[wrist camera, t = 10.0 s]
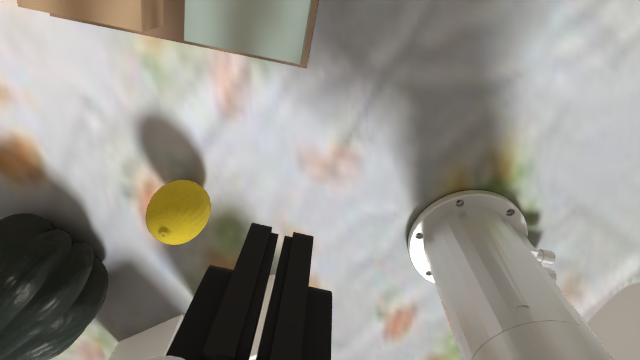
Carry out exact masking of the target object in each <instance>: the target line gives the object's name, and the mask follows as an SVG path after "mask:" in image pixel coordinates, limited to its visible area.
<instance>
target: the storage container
mask: <svg viewBox="0 0 640 360" xmlns="http://www.w3.org/2000/svg"><path fill="white" fill-rule="evenodd" d="M274 279H275V275H274V274H273V275H270V276H269V279H268V283H267V287H266V292H265V296H264V301H263V305H262V309H261V314H260V318H259V322H258V326H257V330H256V334H255V338H254V342H253V346H252V350H251V354H250V358H249V360H256V357H257V352H258V348H259V344H260V339H261V335H262V331H263V326H264V322H265V318H266V313H267V309H268V305H269V301H270V296H271V292H272V288H273V284H274ZM183 318H184V316H183V315H182V314H181V315H179V316H177V317H174V318H172V319H170V320H168V321H165V322H163V323H161V324H158V325H156V326H154V327H152V328H149V329H147V330H145V331H142V332H140V333H138V334H136V335H133V336H131V337H129V338H126V339H124V340H122V341H120V342H118V344H117V346H116V347H115V349H114V351H113V352H112V354H111V356H110V358H109V359H108V360H148V359H151V358H154V357H158V356H166V353H167V351H168V349H169V347H170V345H171V343H172V341H173V339H174V337H175V335H176V333H177V331H178V329H179V327H180V325H181V322H182V320H183Z"/></svg>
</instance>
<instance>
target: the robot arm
mask: <svg viewBox="0 0 640 360" xmlns="http://www.w3.org/2000/svg"><path fill="white" fill-rule="evenodd" d="M271 231H272V227H269V226H264V225H260V224H255V223H252V224H251V227H250V229H249V232H248V234H247V237H246V240H245V242H244V245H243V247H242V250H241V253H240V255H239V258H238V260H237V263H236V266H235V268H234V270H230V269H226V268H221V267H216V266H212V265H210V266H209V267H208V269H207V271H206V273H205V275H204V277H203V279H202V281H201V283H200V285H199V287H198V289H197V292H196V294H195V296H194V298H193V300H192V302H191V304H190V306H189V308H188V310H187V312H186V314H185V316H184V318H183V320H182V322H181V325H180V327H179V329H178V331H177V333H176V335H175V337H174V339H173V341H172V343H171V345H170V347H169V349H168V351H167V353H166V356H158V357H154V358H151V359H148V360H249V358H250V354H251V350H252V346H253V342H254V338H255V334H256V330H257V326H258V322H259V318H260V314H261V309H262V305H263V301H264V296H265V292H266V287H267V283H268V279H269V274H270V270H271V265H272V261H273V257H274V252H275V248H276V244H277V239H278V235H279V234H275V233H271ZM527 235H528V231H527V224H526V221H525V219H524V216H523V215H522V213H521V212H520V211H519V209H518V208H517V207H516V206H515V205H514V204H513V203H512V202H511V201H510V200H508V199H507V198H505V197H504V196H502V195H499V194H497V193H494V192H489V191H484V190H468V191H461V192H457V193H453V194H450V195H447V196H445V197H443V198H441V199H439V200H437V201H435V202H434V203H433V204H431V205H430V206H428V207H427V208H426V209H425V210H424V211H423V212H422V213H421V214H420V215H419V216H418V218H417V219H416V220H415V222H414V223H413V226H412V228H411V230H410V233H409V238H408V251H409V255H410V258H411V261H412V263H413V265H414V267H415V268H416V269H417V271H418V272H419V273H420V274H421V275H422V276H423V277H425V278H426V279H428V280H430V281H432V282H433V283H435V286H436V288H437V291H438V294H439V297H440V300H441V302H442V305H443V308H444V311H445V313H446V316H447V319H448V322H449V324H450V327H451V330H452V333H453V335H454V338H455V341H456V344H457V347H458V349H459V352H460V355H461V358H462V360H614V359H613V358H612V356H611V355H610V354H609V353H608V351H607V350H606V349H605V347H604V346H603V345H602V343H601V342H600V341H599V340H598V338H597V337H596V336H595V334H594V333H593V332H592V330H591V329H590V328H589V326H588V325H587V324H586V323H585V321H584V320H583V319H582V317H581V316H580V315H579V313H578V312H577V311H576V309H575V308H574V307H573V306H572V304H571V303H570V302H569V300H568V299H567V298H566V296H565V295H564V294H563V292H562V291H561V290H560V289H559V287H558V286H557V285H556V283H555V282H556V273H555V271H554V270H553V269H550V268H544V267H543V266H542V265H541V264H540V263H545V264H553V263H554V262H555V254H554V253H553V252H552V251H547V250H541V249H540V250H537V249H535V248H534V247H533V246H532V244H531V243H530V242H529V240H528V239H527ZM312 247H313V236H309V235H304V234H300V233H296V232H294V233H293V237H289V236H285V237H284V242H283V246H282V250H281V254H280V258H279V263H278V267H277V271H276V275H275V279H274V284H273V288H272V292H271V296H270V301H269V305H268V309H267V313H266V318H265V322H264V326H263V331H262V335H261V339H260V344H259V348H258V352H257V357H256V360H331V331H332V292H331V291H328V290H323V289H318V288H314V287H309V286H308V285H309V276H310V266H311V256H312Z"/></svg>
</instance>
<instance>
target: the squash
mask: <svg viewBox="0 0 640 360" xmlns="http://www.w3.org/2000/svg"><path fill="white" fill-rule="evenodd" d="M107 287H108V274H107V271H106V268H105V266H104V264H103V263H102V262H101V261H100V260H99V259H98V258H96V257H94V251H93V249H92V247H91V246H90V245H89V244H87V243H83V242H76V243H72V239H71V236H70V235H69V234H68V233H66V232H65V231H62V230H54V228H53V227H52V225H51V224H50V223H49V222H48V221H47V220H45V219H44V218H41V217H39V216H36V215H33V214H24V213H23V214H16V215H12V216H8V217H6V218H4V219H1V220H0V360H49V359H51V358H53V357H55V356H57V355H59V354H61V353H62V352H63V351H65V350H66V349H67V348H69V347H70V346H71V345H72V344H73V343H74V341H75V340H76V339H77V338H78V337H79V336H80V335H81V334H82V333H83V331H84V330H85V328H86V327H87V326H88V325H89V324H90V323H91V321H92V320H93V319H94V318H95V316H96V315H97V313H98V311H99V310H100V308H101V306H102V304H103V302H104V299H105V296H106V291H107Z"/></svg>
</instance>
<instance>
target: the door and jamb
mask: <svg viewBox="0 0 640 360" xmlns="http://www.w3.org/2000/svg"><path fill="white" fill-rule="evenodd" d="M318 1H319V0H17V3H18V7H23V8H28V9H33V10H38V11H43V12H47V13H50V16H53V17H58V18H63V19H68V20H73V21H78V22H83V23H88V24H93V25H97V26H102V27H107V28H112V29H117V30H122V31H127V32H132V33H136V34H141V35H146V36H151V37H156V38H161V39H166V40H171V41H176V42H180V43H185V44H190V45H195V46H200V47H205V48H210V49H215V50H219V51H224V52H229V53H234V54H239V55H244V56H249V57H254V58H259V59H263V60H268V61H273V62H278V63H283V64H288V65H293V66H298V67H302V68H307V63H308V58H309V52H310V46H311V41H312V35H313V29H314V24H315V18H316V13H317V7H318Z"/></svg>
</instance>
